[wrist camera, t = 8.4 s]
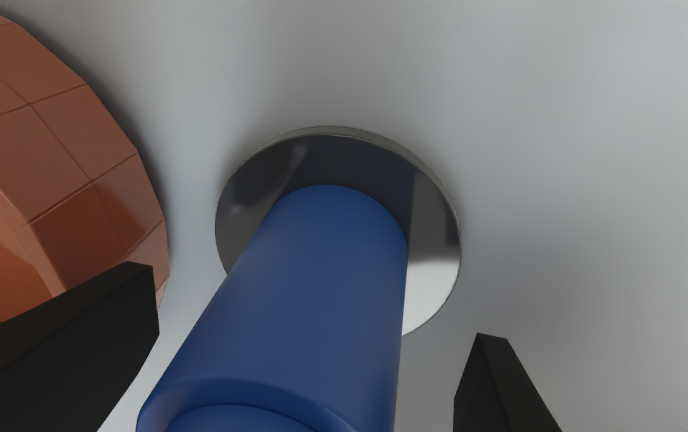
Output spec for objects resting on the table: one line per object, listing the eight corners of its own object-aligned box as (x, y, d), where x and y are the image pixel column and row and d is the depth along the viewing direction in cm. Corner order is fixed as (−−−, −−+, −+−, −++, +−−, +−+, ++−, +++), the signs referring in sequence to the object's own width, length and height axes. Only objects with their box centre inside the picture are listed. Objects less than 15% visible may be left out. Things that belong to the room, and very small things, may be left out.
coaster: (431, 353, 15) (431, 367, 15) (223, 309, 16) (216, 321, 15) (491, 151, 12) (494, 160, 11) (221, 104, 12) (211, 111, 12)
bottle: (393, 323, 14) (337, 841, 6) (258, 295, 14) (24, 745, 6) (421, 199, 12) (398, 734, 4) (262, 170, 12) (-81, 598, 4)
